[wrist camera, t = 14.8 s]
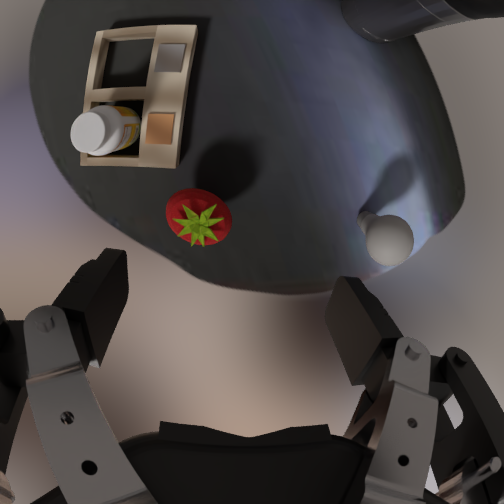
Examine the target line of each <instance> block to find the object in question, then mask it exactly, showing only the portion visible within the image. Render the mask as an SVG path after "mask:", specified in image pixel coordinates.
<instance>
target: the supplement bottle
mask: <svg viewBox="0 0 504 504" xmlns="http://www.w3.org/2000/svg"><path fill="white" fill-rule="evenodd" d="M140 131H141V121H140V118H139V116H138V114H137V113H136V112H135V111H134V110H132V109H130V108H127V107H119V106H108V105H101V106H97V107H94V108H92V109H90V110H89V111H88V112H85V113H83V114H81V115H80V116H79V117H78V118H77V119H76V120H75V121H74V123H73V125H72V128H71V141H72V143H73V145H74V147H75V148H76V149H77V150H79V151H81V152H84V153H89V154H91V155H95V156H101V155H105V154H108V153H111V152H114V151H117V150H120V149H123V148H126V147H128V146H130V145H132V144H133V143H134V142H135V141H136V139H137V138H138V136H139V134H140Z"/></svg>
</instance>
